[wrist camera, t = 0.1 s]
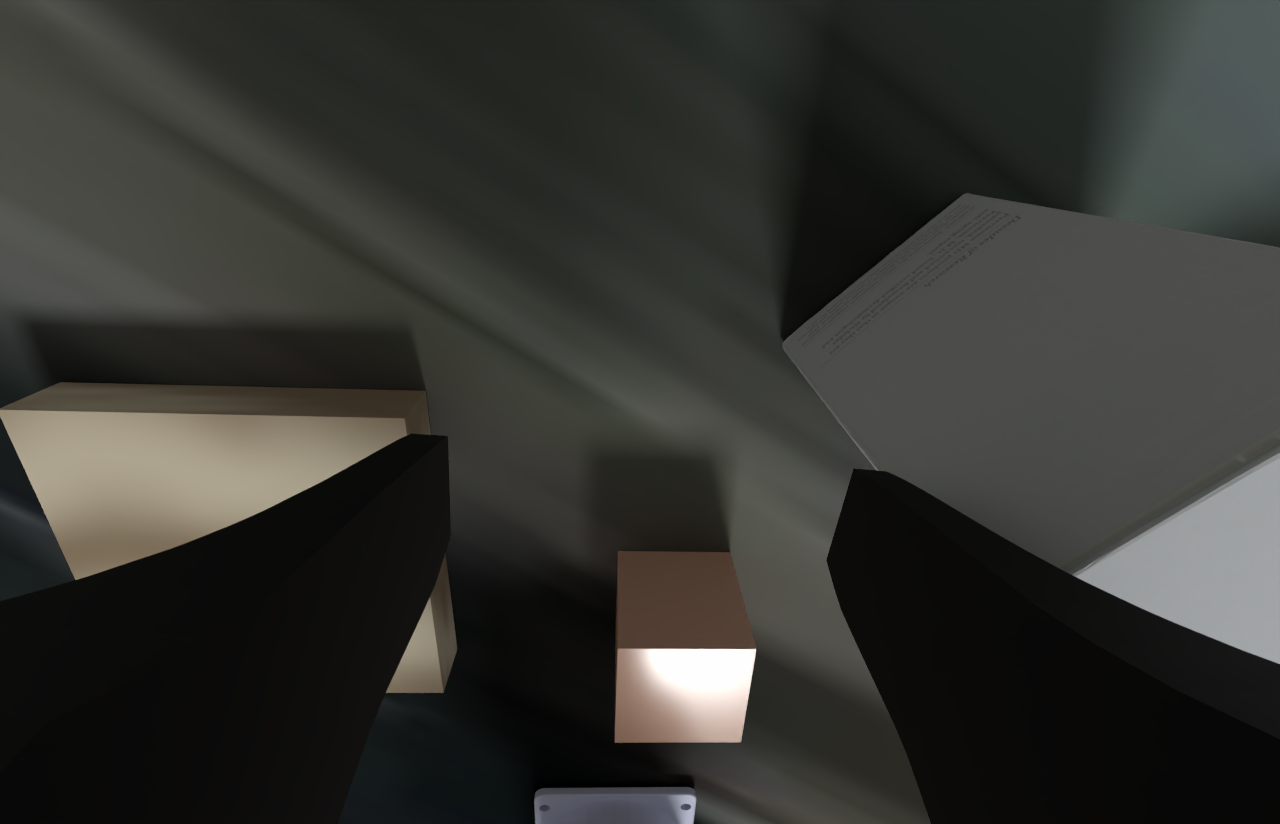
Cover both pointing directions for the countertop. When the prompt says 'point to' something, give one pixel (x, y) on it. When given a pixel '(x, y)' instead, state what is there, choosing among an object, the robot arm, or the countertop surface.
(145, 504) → the base
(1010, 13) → the countertop surface
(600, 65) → the countertop surface
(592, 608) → the countertop surface
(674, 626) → the block
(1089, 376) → the supplement box
